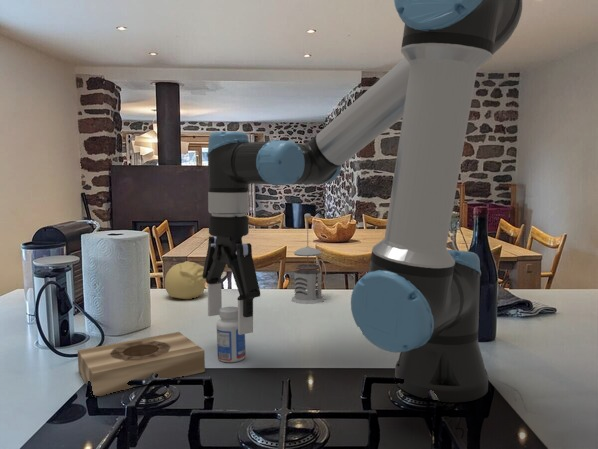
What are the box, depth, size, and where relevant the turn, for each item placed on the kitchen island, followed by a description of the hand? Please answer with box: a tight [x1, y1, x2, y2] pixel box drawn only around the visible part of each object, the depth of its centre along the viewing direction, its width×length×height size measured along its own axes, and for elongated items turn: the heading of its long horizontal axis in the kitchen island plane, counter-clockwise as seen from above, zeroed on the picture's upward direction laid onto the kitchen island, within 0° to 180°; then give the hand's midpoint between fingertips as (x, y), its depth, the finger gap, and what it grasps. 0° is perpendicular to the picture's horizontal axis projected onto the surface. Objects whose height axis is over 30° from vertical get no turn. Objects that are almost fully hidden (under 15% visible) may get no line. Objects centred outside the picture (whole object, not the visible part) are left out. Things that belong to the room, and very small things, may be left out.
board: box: [77, 331, 206, 397], centre depth 89 cm, size 13×19×4 cm
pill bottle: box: [216, 306, 246, 363], centre depth 95 cm, size 6×5×10 cm
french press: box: [291, 213, 327, 305], centre depth 140 cm, size 10×12×25 cm
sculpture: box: [164, 260, 207, 300], centre depth 145 cm, size 11×12×11 cm
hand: (229, 323), depth 96 cm, fingers open, 13 cm apart
